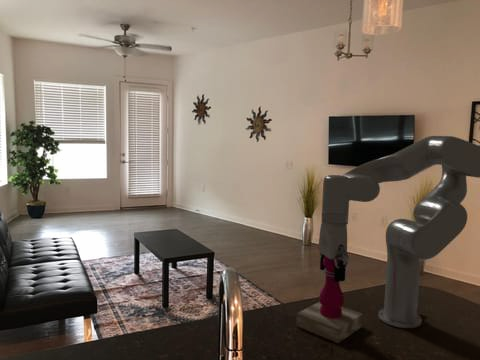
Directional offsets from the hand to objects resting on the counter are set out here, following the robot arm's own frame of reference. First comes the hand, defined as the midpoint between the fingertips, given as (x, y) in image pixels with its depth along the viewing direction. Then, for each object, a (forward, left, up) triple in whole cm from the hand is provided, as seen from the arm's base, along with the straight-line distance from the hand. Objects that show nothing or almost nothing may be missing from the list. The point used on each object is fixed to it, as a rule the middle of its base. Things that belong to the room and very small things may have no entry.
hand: (331, 275), depth 121 cm
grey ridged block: (0, 0, -16) cm, 16 cm away
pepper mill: (0, 0, -12) cm, 12 cm away
